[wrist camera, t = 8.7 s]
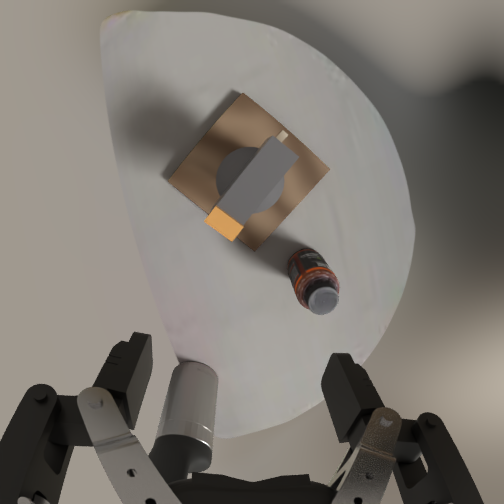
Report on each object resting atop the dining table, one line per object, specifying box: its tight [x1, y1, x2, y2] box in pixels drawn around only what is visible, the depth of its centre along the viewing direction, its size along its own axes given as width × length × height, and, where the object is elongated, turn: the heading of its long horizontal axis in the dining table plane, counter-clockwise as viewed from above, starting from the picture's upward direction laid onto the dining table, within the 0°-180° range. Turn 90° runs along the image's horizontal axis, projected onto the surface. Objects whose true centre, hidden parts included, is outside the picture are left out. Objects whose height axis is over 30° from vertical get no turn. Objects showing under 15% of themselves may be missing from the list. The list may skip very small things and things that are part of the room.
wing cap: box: [204, 136, 299, 242], centre depth 27 cm, size 9×7×8 cm
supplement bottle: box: [288, 249, 339, 315], centre depth 39 cm, size 6×6×11 cm
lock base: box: [168, 93, 330, 251], centre depth 35 cm, size 16×16×9 cm
